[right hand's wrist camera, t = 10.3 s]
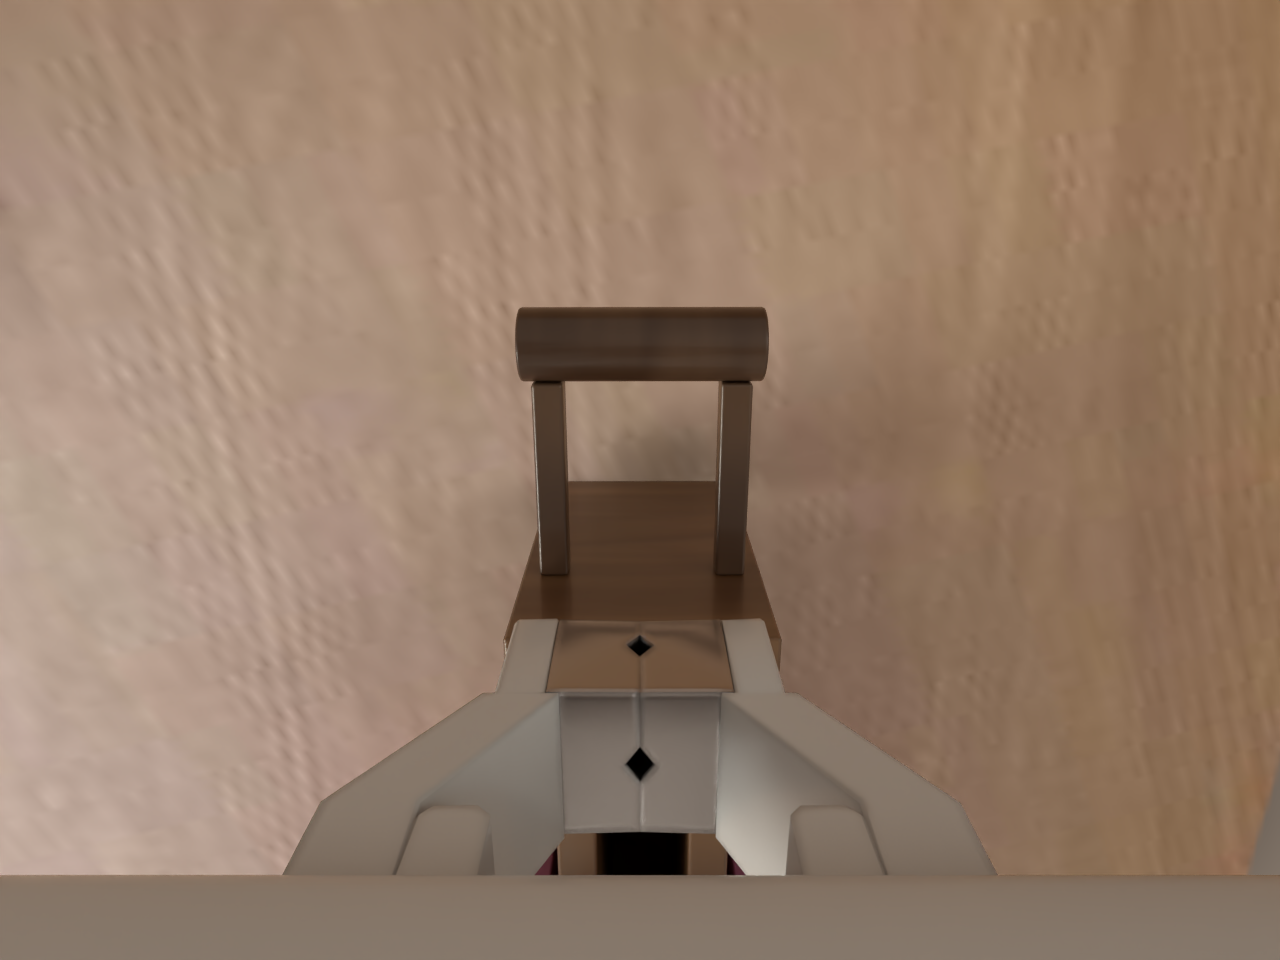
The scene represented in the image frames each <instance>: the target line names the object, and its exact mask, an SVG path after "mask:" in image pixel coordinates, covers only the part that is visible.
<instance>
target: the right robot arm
mask: <svg viewBox="0 0 1280 960" xmlns="http://www.w3.org/2000/svg"><path fill="white" fill-rule="evenodd" d="M613 832H665V833H701V834H716V838H717V840H718V841H719V842H720V843H721V845H722V846H723V847H724V848H725V850H726V851H727V852H728V853H729V854H730V856H731V857H732V858H733V859H734V861H735V862H736V863H737V864H738V866H739V867H740V868H741V869H742V871H743V872H744V873H745V874H746V875H535V874H536V873H537V871H538V870H539V869H540V868H541V866H542V865H543V864H544V863H545V861H546V860H547V859H548V858H549V856H550V855H551V854H552V853H553V852H554V850H555V849H556V848H557V847H558V845H559V844H560V843H561V842H562V840H563V839H564V834H578V833H613ZM0 960H1280V875H997V873H996V871H995V869H994V867H993V865H992V863H991V861H990V859H989V857H988V855H987V853H986V851H985V850H984V848H983V846H982V844H981V842H980V840H979V838H978V836H977V834H976V832H975V830H974V828H973V826H972V824H971V822H970V820H969V819H968V817H967V815H966V813H965V811H964V809H963V807H962V805H961V803H960V802H958V801H957V800H955V799H954V798H952V797H951V796H949V795H948V794H946V793H945V792H943V791H942V790H940V789H939V788H937V787H936V786H934V785H933V784H931V783H930V782H928V781H927V780H926V779H924V778H923V777H921V776H920V775H918V774H917V773H915V772H914V771H912V770H911V769H909V768H908V767H906V766H905V765H903V764H902V763H900V762H899V761H897V760H896V759H894V758H893V757H891V756H890V755H888V754H887V753H885V752H884V751H882V750H881V749H879V748H878V747H876V746H875V745H873V744H872V743H871V742H869V741H868V740H866V739H865V738H863V737H862V736H860V735H859V734H857V733H856V732H854V731H853V730H851V729H850V728H848V727H847V726H845V725H844V724H842V723H841V722H839V721H838V720H836V719H835V718H833V717H832V716H830V715H829V714H827V713H826V712H824V711H823V710H821V709H820V708H818V707H817V706H816V705H814V704H813V703H811V702H810V701H808V700H807V699H805V698H804V697H802V696H801V695H799V694H798V693H785V691H784V687H783V684H782V680H781V677H780V673H779V670H778V667H777V663H776V660H775V656H774V653H773V650H772V646H771V643H770V639H769V636H768V632H767V629H766V626H765V622H764V621H763V620H762V619H760V618H758V619H735V620H721V619H720V620H678V621H616V620H563V619H561V620H560V621H559V620H558V619H520V620H518V621H517V622H516V623H515V625H514V628H513V631H512V635H511V638H510V642H509V645H508V649H507V652H506V656H505V659H504V663H503V666H502V670H501V673H500V677H499V680H498V684H497V687H496V690H495V693H482V694H481V695H479V696H478V697H476V698H475V699H473V700H472V701H470V702H469V703H467V704H466V705H464V706H463V707H461V708H460V709H458V710H457V711H455V712H454V713H452V714H451V715H450V716H448V717H447V718H445V719H444V720H442V721H441V722H439V723H438V724H436V725H435V726H433V727H432V728H430V729H429V730H427V731H426V732H424V733H423V734H421V735H420V736H418V737H417V738H415V739H414V740H412V741H411V742H409V743H408V744H406V745H405V746H403V747H402V748H400V749H399V750H397V751H396V752H394V753H393V754H391V755H390V756H388V757H387V758H385V759H384V760H382V761H381V762H379V763H378V764H376V765H375V766H373V767H372V768H370V769H369V770H367V771H366V772H364V773H363V774H361V775H360V776H358V777H357V778H355V779H354V780H352V781H351V782H349V783H348V784H346V785H345V786H343V787H342V788H340V789H339V790H337V791H336V792H334V793H333V794H332V795H330V796H329V797H327V798H326V799H324V800H323V801H321V802H320V804H319V806H318V808H317V810H316V812H315V814H314V815H313V817H312V819H311V821H310V823H309V825H308V827H307V829H306V831H305V833H304V835H303V836H302V838H301V840H300V842H299V844H298V846H297V848H296V850H295V852H294V854H293V856H292V857H291V859H290V861H289V863H288V865H287V867H286V869H285V871H284V873H283V875H0Z"/></svg>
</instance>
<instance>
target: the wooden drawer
mask: <svg viewBox="0 0 1280 960" xmlns="http://www.w3.org/2000/svg"><path fill="white" fill-rule="evenodd" d="M515 349H516V362H517V369H518V374H519V377H520V379H521V380H522V381H534V382H533V384H532V386H531V391H532V413H533V435H534V457H535V478H536V500H537V522H538V530H537V533H536V536H535V539H534V543H533V546H532V549H531V552H530V556H529V559H528V562H527V565H526V569H525V572H524V575H523V578H522V582H521V585H520V588H519V591H518V595H517V598H516V601H515V604H514V608H513V611H512V614H511V617H510V621H509V624H508V627H507V630H506V634H505V637H504V640H503V641H504V657H505V656H506V652H507V649H508V645H509V642H510V638H511V635H512V631H513V628H514V625H515V623H516V622H517V621H518V620H520V619H558V620H559V621H560V620H561V619H563V620H616V621H678V620H720V619H721V620H735V619H758V618H760V619H762V620H763V621H764V622H765V626H766V629H767V632H768V636H769V639H770V643H771V646H772V650H773V653H774V656H775V660H776V663H777V667H778V670H779V671H780V655H781V637H780V634H779V631H778V627H777V624H776V621H775V618H774V615H773V612H772V609H771V606H770V602H769V599H768V596H767V593H766V590H765V587H764V584H763V581H762V578H761V574H760V571H759V568H758V565H757V562H756V559H755V556H754V553H753V549H752V546H751V543H750V540H749V537H748V534H747V531H746V525H747V503H748V481H749V459H750V436H751V414H752V392H753V386H752V383H751V382H750V381H762V380H763V379H764V377H765V374H766V369H767V362H768V350H769V328H768V318H767V313H766V310H765V308H763V307H522V308H520V309H519V310H518V313H517V318H516V328H515ZM565 381H719V392H718V425H717V457H716V481H571V482H568V460H567V429H566V398H565ZM727 853H728V852H727V851H726V850H725V848H724V847H723V846H722V845H721V843H720V842H719V841H718V840H717V838H716V834H701V833H665V832H613V833H578V834H564V839H563V840H562V842H561V843H560V844H559V845H558V847H557V854H558V875H727Z"/></svg>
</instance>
